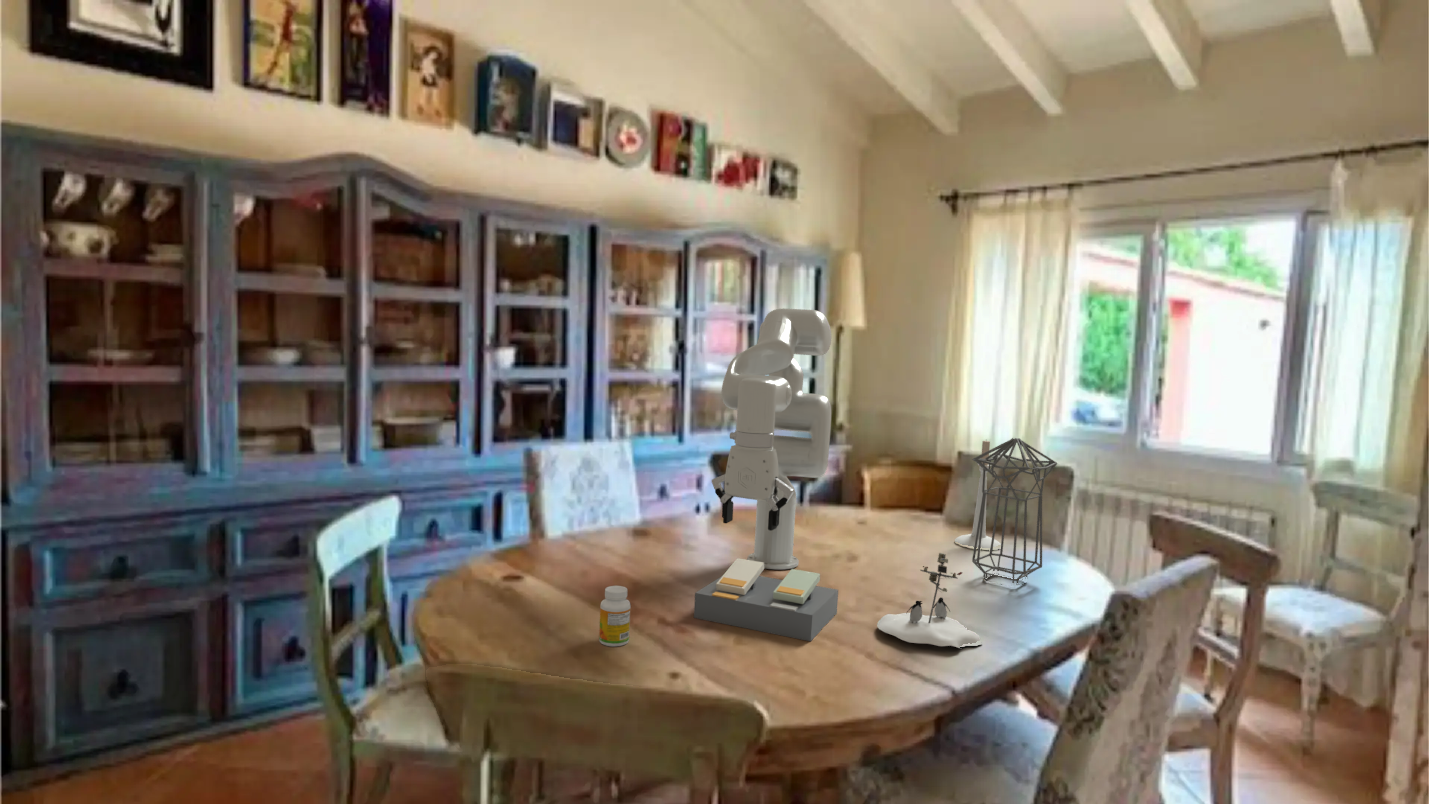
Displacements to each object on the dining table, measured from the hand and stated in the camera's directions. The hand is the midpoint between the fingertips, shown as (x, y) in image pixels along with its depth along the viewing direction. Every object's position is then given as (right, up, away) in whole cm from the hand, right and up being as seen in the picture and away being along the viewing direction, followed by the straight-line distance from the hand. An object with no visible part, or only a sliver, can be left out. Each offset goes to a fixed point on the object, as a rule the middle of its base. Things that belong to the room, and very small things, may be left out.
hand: (749, 525), depth 169 cm
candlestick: (+67, -16, +70) cm, 98 cm away
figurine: (+34, -21, -5) cm, 41 cm away
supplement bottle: (-25, -19, -17) cm, 35 cm away
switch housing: (+3, -18, +1) cm, 19 cm away
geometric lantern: (+62, -19, +34) cm, 73 cm away
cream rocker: (-2, -11, +3) cm, 12 cm away
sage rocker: (+9, -12, -1) cm, 16 cm away
